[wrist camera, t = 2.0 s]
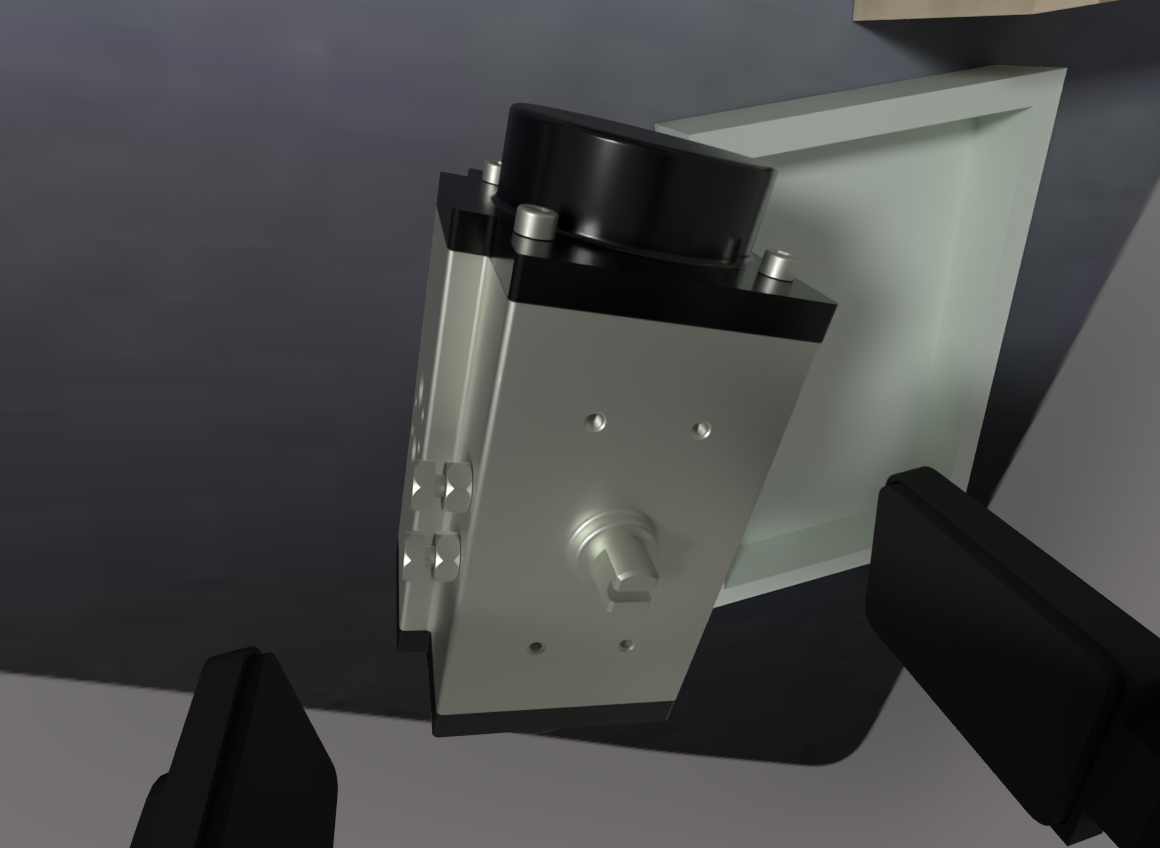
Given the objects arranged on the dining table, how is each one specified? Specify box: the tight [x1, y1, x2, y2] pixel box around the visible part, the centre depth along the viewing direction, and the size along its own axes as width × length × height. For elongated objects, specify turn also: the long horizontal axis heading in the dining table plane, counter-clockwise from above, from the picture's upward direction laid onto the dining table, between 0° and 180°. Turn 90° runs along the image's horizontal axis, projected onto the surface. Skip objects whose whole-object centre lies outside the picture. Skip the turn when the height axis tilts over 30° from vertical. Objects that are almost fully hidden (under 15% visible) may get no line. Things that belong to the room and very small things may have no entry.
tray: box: [655, 65, 1067, 608], centre depth 22 cm, size 17×11×2 cm, turn 7°
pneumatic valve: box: [396, 103, 838, 737], centre depth 14 cm, size 6×12×12 cm, turn 167°
